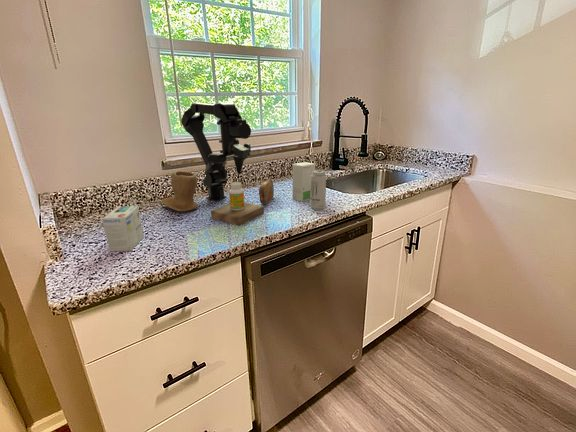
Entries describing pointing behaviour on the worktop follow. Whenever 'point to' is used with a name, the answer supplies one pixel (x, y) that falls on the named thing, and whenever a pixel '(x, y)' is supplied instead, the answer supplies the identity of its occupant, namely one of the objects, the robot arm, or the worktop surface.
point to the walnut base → (237, 213)
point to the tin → (266, 192)
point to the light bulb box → (123, 228)
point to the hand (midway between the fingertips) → (231, 176)
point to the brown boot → (182, 191)
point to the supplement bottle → (236, 196)
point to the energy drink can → (317, 190)
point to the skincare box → (302, 180)
